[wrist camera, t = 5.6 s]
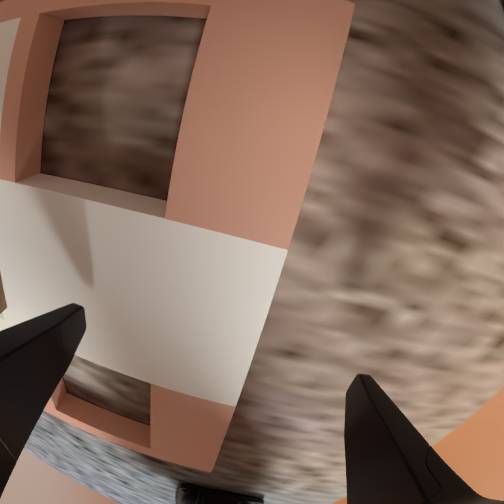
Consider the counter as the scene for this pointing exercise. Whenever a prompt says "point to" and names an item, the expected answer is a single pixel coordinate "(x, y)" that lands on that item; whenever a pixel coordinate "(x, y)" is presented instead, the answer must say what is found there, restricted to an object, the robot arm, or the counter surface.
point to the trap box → (169, 211)
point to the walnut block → (2, 297)
